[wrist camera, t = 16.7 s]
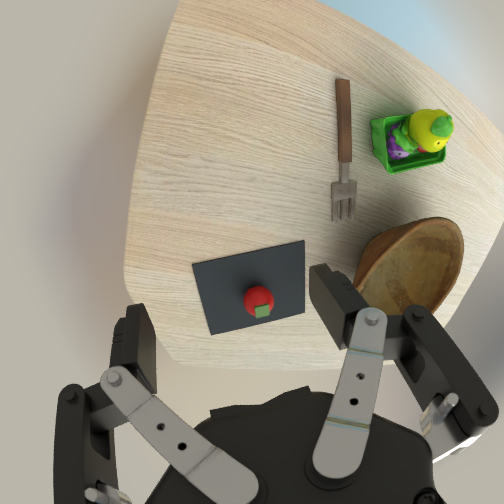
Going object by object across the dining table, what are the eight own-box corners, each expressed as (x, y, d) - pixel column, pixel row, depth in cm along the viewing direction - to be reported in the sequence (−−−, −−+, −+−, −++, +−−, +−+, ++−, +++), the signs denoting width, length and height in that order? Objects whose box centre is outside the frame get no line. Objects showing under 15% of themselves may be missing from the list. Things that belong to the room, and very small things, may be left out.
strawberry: (242, 305, 46) (248, 326, 42) (239, 283, 44) (244, 303, 40) (270, 299, 47) (278, 319, 43) (268, 277, 44) (276, 296, 41)
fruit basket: (366, 165, 39) (418, 194, 30) (359, 103, 34) (417, 116, 25) (423, 152, 40) (476, 176, 30) (420, 97, 35) (478, 110, 26)
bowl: (299, 242, 43) (329, 283, 35) (419, 169, 41) (463, 192, 33) (340, 325, 55) (364, 363, 46) (433, 263, 53) (464, 291, 45)
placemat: (211, 334, 48) (211, 335, 48) (191, 264, 41) (191, 265, 40) (304, 311, 50) (304, 312, 50) (304, 240, 43) (304, 240, 43)
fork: (352, 215, 43) (356, 219, 42) (330, 219, 42) (334, 223, 41) (352, 79, 32) (357, 79, 31) (327, 79, 32) (331, 79, 31)
